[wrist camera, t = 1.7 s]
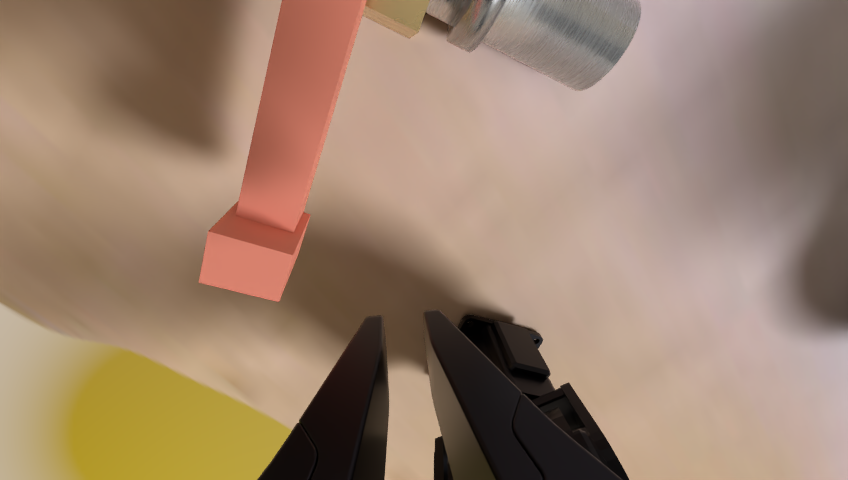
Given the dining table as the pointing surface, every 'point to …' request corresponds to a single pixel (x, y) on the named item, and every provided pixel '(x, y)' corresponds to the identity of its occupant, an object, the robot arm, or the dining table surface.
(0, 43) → the dining table surface
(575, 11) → the valve
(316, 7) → the lever
